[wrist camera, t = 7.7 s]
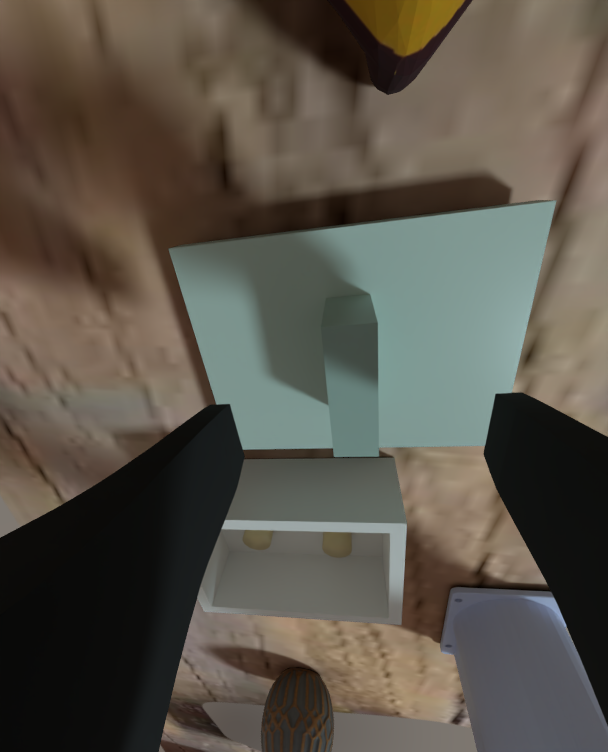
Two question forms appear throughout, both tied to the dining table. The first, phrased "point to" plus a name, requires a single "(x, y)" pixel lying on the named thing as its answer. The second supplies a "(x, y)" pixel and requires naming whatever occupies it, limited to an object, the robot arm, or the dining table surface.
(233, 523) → the tub
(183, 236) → the dining table surface
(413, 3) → the decorative lantern
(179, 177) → the dining table surface
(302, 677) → the vase
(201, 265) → the lid
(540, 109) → the dining table surface
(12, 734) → the robot arm
